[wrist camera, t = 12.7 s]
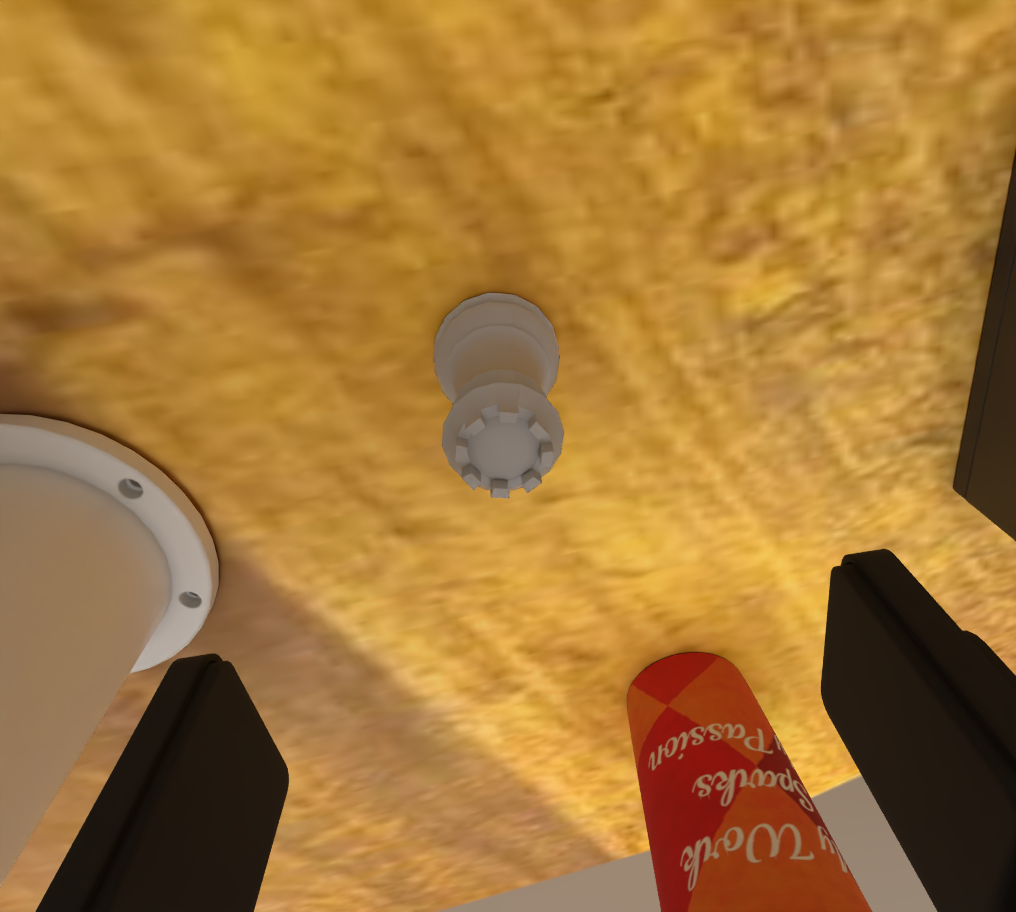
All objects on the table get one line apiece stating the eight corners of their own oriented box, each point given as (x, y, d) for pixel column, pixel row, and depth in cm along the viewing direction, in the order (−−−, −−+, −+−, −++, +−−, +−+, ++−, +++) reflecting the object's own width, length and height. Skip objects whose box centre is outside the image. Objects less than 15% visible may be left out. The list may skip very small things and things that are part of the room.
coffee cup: (791, 642, 31) (1019, 1036, 18) (736, 754, 35) (890, 1145, 22) (622, 626, 30) (734, 1030, 17) (584, 743, 34) (652, 1145, 21)
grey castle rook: (451, 272, 22) (439, 353, 15) (574, 308, 23) (617, 400, 16) (421, 389, 24) (399, 508, 17) (535, 418, 25) (559, 543, 18)
